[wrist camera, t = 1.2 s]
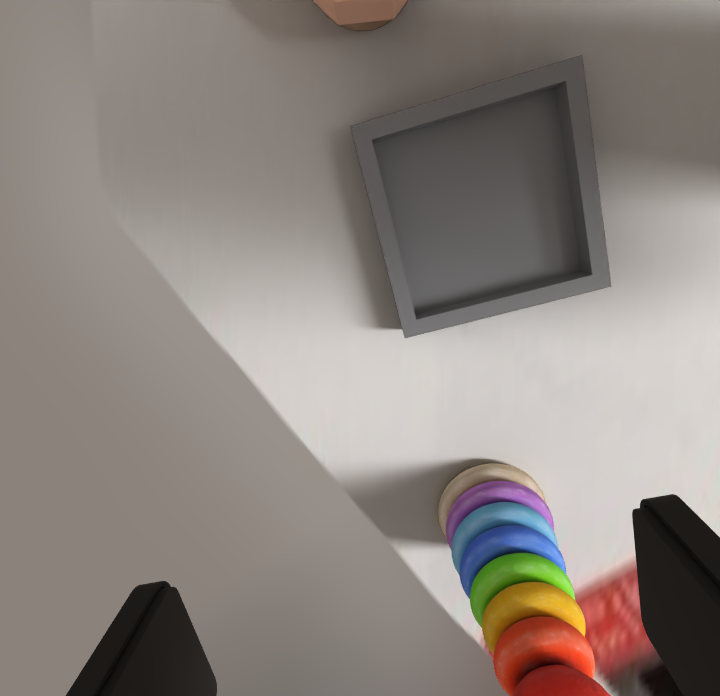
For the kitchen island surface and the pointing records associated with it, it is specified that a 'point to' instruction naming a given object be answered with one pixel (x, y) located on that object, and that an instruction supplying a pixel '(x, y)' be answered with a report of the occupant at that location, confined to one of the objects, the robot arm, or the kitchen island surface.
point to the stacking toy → (517, 582)
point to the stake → (367, 24)
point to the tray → (487, 198)
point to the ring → (360, 10)
